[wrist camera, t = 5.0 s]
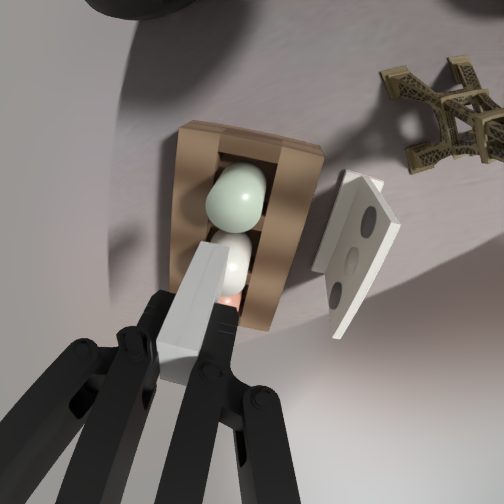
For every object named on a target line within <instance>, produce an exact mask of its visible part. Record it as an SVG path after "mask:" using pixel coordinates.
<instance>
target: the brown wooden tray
mask: <svg viewBox="0 0 504 504" xmlns="http://www.w3.org/2000/svg"><path fill="white" fill-rule="evenodd" d="M324 158H325V157H324V154H323V152H322V150H321V147H320V146H318V145H314V144H311V143H307V142H303V141H299V140H295V139H290V138H286V137H282V136H277V135H273V134H268V133H264V132H259V131H254V130H249V129H244V128H238V127H233V126H227V125H221V124H215V123H209V122H202V121H195V120H193V121H191V122H189V123H187V124H185V125H183V126H182V127H180V128H179V133H178V142H177V152H176V162H175V174H174V186H173V200H172V217H171V238H170V274H169V292H171V293H175V294H177V292H178V289H179V287H180V285H181V283H182V281H183V278H184V276H185V274H186V272H187V270H188V268H189V265H190V263H191V261H192V259H193V257H194V255H195V253H196V251H197V248H198V246H199V244H200V242H201V241H204V242H209V243H210V242H211V239H212V237H213V235H214V234H215V233H216V232H217V231H218V230H220V229H219V228H218V227H216V226H215V225H214V224H213V223H212V222H211V220H210V219H209V217H208V215H207V213H206V206H205V205H206V199H207V196H208V194H209V193H210V191H211V189H212V188H213V186H214V185H215V183H216V181H217V180H218V178H219V177H220V175H221V173H222V172H223V170H224V169H225V168H226V167H227V166H228V165H230V164H232V163H234V162H237V161H247V162H250V163H253V164H255V165H256V166H258V167H259V168H260V169H261V170H262V171H263V173H264V175H265V178H266V191H265V196H264V202H263V207H262V212H261V216H260V219H259V221H258V222H257V224H256V225H255V226H254V227H253V228H251V229H250V230H247V231H245V232H244V233H245V234H247V235H248V237H249V238H250V240H251V242H252V252H251V257H250V262H249V267H248V272H247V277H246V282H245V286H244V288H243V291H242V296H241V300H240V305H239V310H238V314H239V321H238V326H242V327H247V328H252V329H257V330H262V331H267V332H268V331H269V328H270V326H271V323H272V320H273V317H274V314H275V312H276V309H277V306H278V303H279V300H280V297H281V294H282V291H283V288H284V285H285V283H286V280H287V277H288V274H289V271H290V268H291V265H292V262H293V259H294V256H295V253H296V249H297V246H298V243H299V240H300V237H301V234H302V231H303V228H304V224H305V221H306V218H307V215H308V212H309V208H310V205H311V202H312V199H313V195H314V192H315V189H316V186H317V182H318V179H319V175H320V172H321V169H322V165H323V162H324Z"/></svg>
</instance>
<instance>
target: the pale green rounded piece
mask: <svg viewBox="0 0 504 504" xmlns="http://www.w3.org/2000/svg"><path fill="white" fill-rule="evenodd" d="M265 191H266V178H265V175H264V173H263V171H262V170H261V169H260V168H259V167H258V166H256V165H255V164H253V163H250V162H247V161H237V162H234V163H232V164H230V165H228V166H227V167H226V168H225V169H224V170H223V172H222V173H221V175H220V177H219V178H218V180H217V181H216V183H215V185H214V186H213V188H212V189H211V191H210V193H209V194H208V196H207V199H206V205H205V206H206V213H207V215H208V217H209V219H210V220H211V222H212V223H213V224H214V225H215V226H216V227H218V228H219V229H221V230H223V231H226V232H230V233H241V232H245V231H247V230H250V229H251V228H253V227H254V226H255V225H256V224H257V222H258V221H259V219H260V216H261V212H262V207H263V202H264V196H265Z"/></svg>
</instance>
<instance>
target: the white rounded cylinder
mask: <svg viewBox="0 0 504 504" xmlns="http://www.w3.org/2000/svg"><path fill="white" fill-rule="evenodd" d="M210 243H213V244H218V245H222V246H227V247H230V249H229V255H228V261H227V266H226V272H225V278H224V284H223V289H222V292H221V296H223V297H228V296H233V295H236V294H238V293H239V292H240V291H241V290H242V289H243V288H244V286H245V282H246V277H247V272H248V267H249V262H250V257H251V252H252V242H251V240H250V238H249V237H248V235H247V234H245V233H244V232H241V233H230V232H226V231H223V230H221V229H220V230H218V231H217V232H216V233H215V234H214V235H213V237H212V239H211V242H210Z"/></svg>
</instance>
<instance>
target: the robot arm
mask: <svg viewBox="0 0 504 504" xmlns="http://www.w3.org/2000/svg"><path fill="white" fill-rule="evenodd" d="M85 1H86V2H87V3H88V4H89V5H90V6H91V7H92V8H93V9H95V10H96V11H98V12H100V13H102V14H104V15H107V16H111V17H115V18H120V19H125V20H147V19H153V18H157V17H161V16H164V15H167V14H170V13H173V12H175V11H177V10H179V9H181V8H183V7H185V6H187V5H189V4H190V3H192V2H194V1H195V0H85ZM229 249H230V247H227V246H222V245H218V244H213V243H209V242H204V241H201V242H200V244H199V246H198V248H197V251H196V253H195V255H194V257H193V259H192V261H191V263H190V265H189V268H188V270H187V272H186V274H185V276H184V278H183V281H182V283H181V285H180V287H179V289H178V292H177V294H175V293H171V292H167V291H163V290H159V291H158V292H156V293H155V294H154V295H153V296H152V297H151V299H150V300H149V302H148V304H147V306H146V308H145V310H144V313H143V314H142V316H141V318H140V320H139V322H138V324H137V326H129V327H125V328H123V329H121V330H120V331H119V332H118V333H117V334H116V336H117V340H118V345H119V346H118V347H98V346H97V344H96V343H95V342H94V341H93V340H90V339H88V338H81V339H78V340H75V341H74V342H72V343H71V344H70V345H69V346H68V347H67V348H66V349H65V350H64V351H63V352H62V353H61V354H60V356H59V357H58V358H57V359H56V360H55V361H54V362H53V363H52V364H51V365H50V366H49V367H48V368H47V369H46V370H45V372H44V373H43V374H42V375H41V376H40V377H39V378H38V379H37V380H36V381H35V383H34V384H33V385H32V386H31V387H30V388H29V389H28V390H27V392H26V393H25V394H24V395H23V396H22V397H21V398H20V400H19V401H18V402H17V403H16V404H15V405H14V407H13V408H12V409H11V410H10V411H9V412H8V414H7V415H6V416H5V417H4V418H3V420H2V421H1V422H0V504H25V503H26V501H27V500H28V499H29V497H30V496H31V494H32V493H33V492H34V490H35V489H36V488H37V486H38V485H39V483H40V482H41V481H42V479H43V478H44V477H45V475H46V474H47V473H48V471H49V470H50V468H51V467H52V466H53V464H54V463H55V462H56V460H57V459H58V458H59V456H60V455H61V454H62V452H63V451H64V450H65V448H66V447H67V446H68V445H69V443H70V442H71V441H72V439H73V438H74V437H75V435H76V434H77V432H78V431H79V430H80V429H81V428H82V426H83V425H84V424H85V425H84V427H83V430H82V432H81V435H80V437H79V439H78V442H77V444H76V447H75V450H74V452H73V455H72V457H71V460H70V463H69V465H68V468H67V471H66V474H65V476H64V479H63V482H62V485H61V488H60V491H59V494H58V497H57V500H56V503H55V504H120V503H121V499H122V496H123V493H124V489H125V486H126V482H127V479H128V476H129V473H130V469H131V466H132V463H133V460H134V456H135V453H136V450H137V447H138V444H139V440H140V438H141V434H142V431H143V428H144V425H145V422H146V419H147V416H148V413H149V410H150V407H151V404H152V401H153V399H154V396H155V393H156V387H157V384H156V382H157V379H158V376H159V374H160V379H163V380H166V381H170V382H173V383H177V384H181V385H185V386H187V387H186V390H185V394H184V398H183V401H182V404H181V408H180V411H179V414H178V418H177V421H176V425H175V429H174V432H173V436H172V439H171V443H170V446H169V450H168V454H167V457H166V461H165V465H164V468H163V472H162V476H161V479H160V483H159V487H158V491H157V495H156V499H155V503H154V504H202V502H203V497H204V492H205V487H206V482H207V477H208V472H209V467H210V462H211V457H212V453H213V448H214V443H215V438H216V433H217V428H218V422H221V423H223V424H224V425H227V426H228V427H230V428H232V429H233V433H234V443H235V452H236V461H237V469H238V477H239V485H240V492H241V500H242V504H301V501H300V497H299V491H298V486H297V481H296V477H295V472H294V467H293V462H292V457H291V452H290V447H289V442H288V437H287V432H286V428H285V423H284V418H283V413H282V408H281V403H280V399H279V397H278V395H277V393H276V392H275V391H274V390H273V389H271V388H269V387H267V386H261V385H257V386H253V387H250V386H248V385H247V384H245V383H243V382H241V381H240V380H238V379H237V378H236V377H235V376H234V375H233V373H232V371H231V368H230V361H231V356H232V351H233V346H234V341H235V336H236V331H237V326H238V321H239V314H238V311H237V307H233V306H228V305H224V304H220V303H219V299H220V296H221V292H222V289H223V284H224V278H225V272H226V266H227V261H228V255H229Z"/></svg>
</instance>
